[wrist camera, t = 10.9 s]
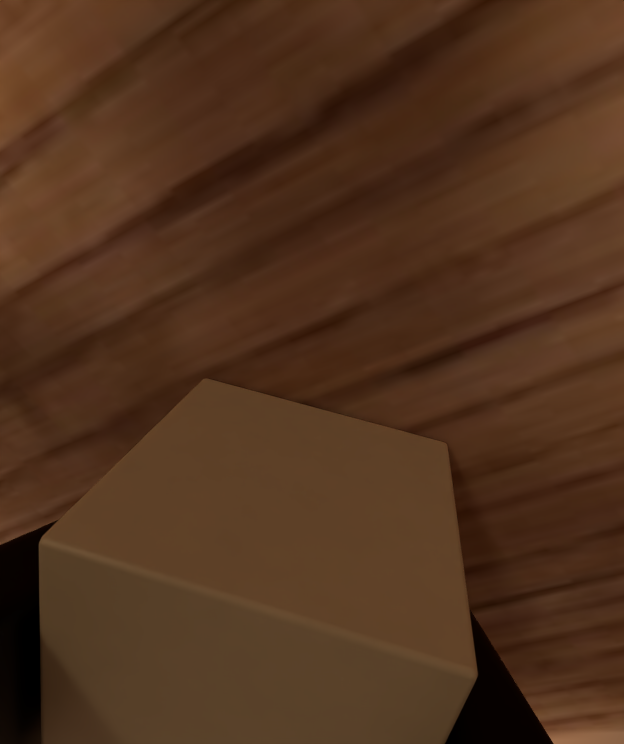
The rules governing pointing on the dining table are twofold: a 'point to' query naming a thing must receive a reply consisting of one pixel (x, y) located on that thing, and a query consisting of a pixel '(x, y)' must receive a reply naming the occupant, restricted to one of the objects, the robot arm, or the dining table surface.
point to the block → (258, 585)
